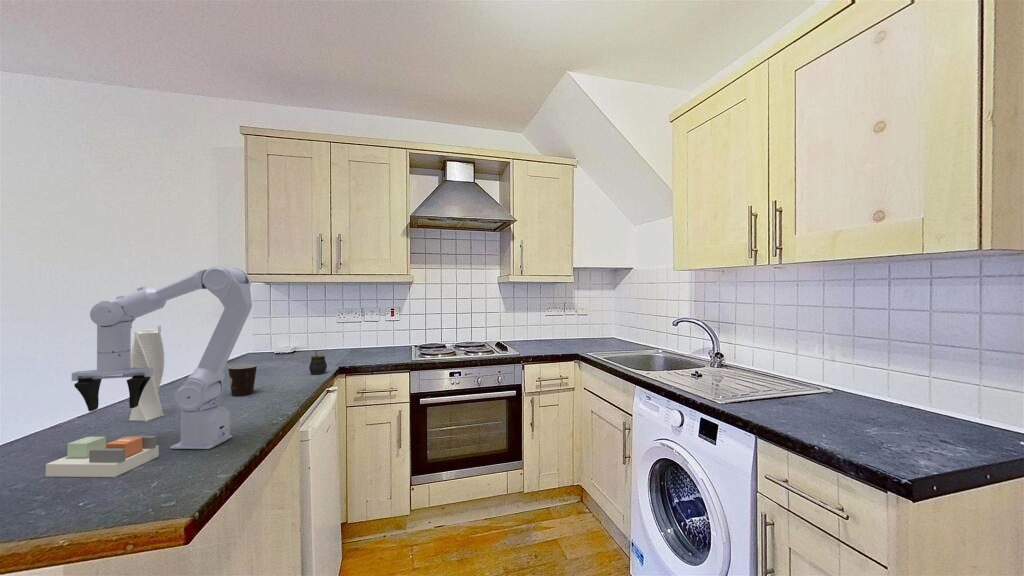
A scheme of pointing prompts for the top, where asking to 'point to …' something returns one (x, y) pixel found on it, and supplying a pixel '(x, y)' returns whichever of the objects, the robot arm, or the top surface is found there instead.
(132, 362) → the skyscraper
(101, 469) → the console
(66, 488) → the top surface
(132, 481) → the top surface
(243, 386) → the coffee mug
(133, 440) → the button
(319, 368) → the mate gourd
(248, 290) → the robot arm
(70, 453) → the on button
